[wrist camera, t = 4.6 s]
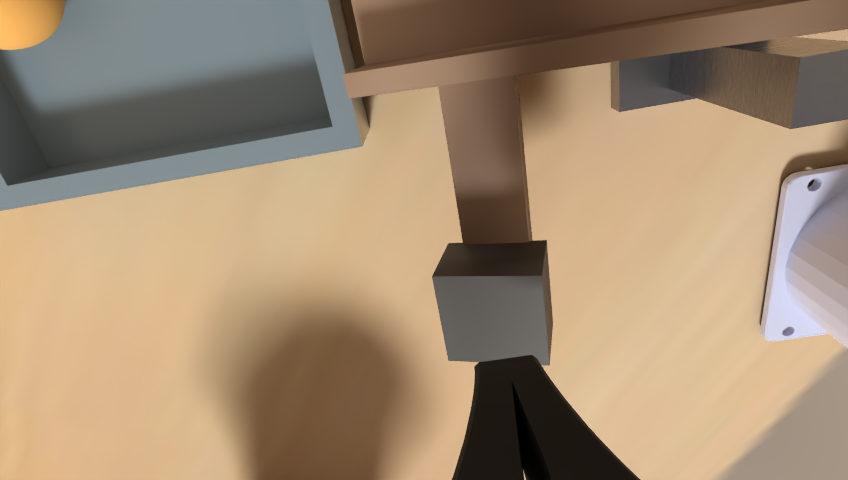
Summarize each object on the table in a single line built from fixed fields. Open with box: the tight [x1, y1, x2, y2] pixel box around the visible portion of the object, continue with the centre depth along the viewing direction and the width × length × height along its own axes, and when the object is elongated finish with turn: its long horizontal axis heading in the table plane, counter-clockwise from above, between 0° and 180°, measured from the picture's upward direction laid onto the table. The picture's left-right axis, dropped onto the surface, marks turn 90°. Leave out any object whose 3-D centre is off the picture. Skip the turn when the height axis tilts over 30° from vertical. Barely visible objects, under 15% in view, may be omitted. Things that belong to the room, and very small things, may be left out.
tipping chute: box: [342, 0, 848, 366], centre depth 10 cm, size 20×17×3 cm
